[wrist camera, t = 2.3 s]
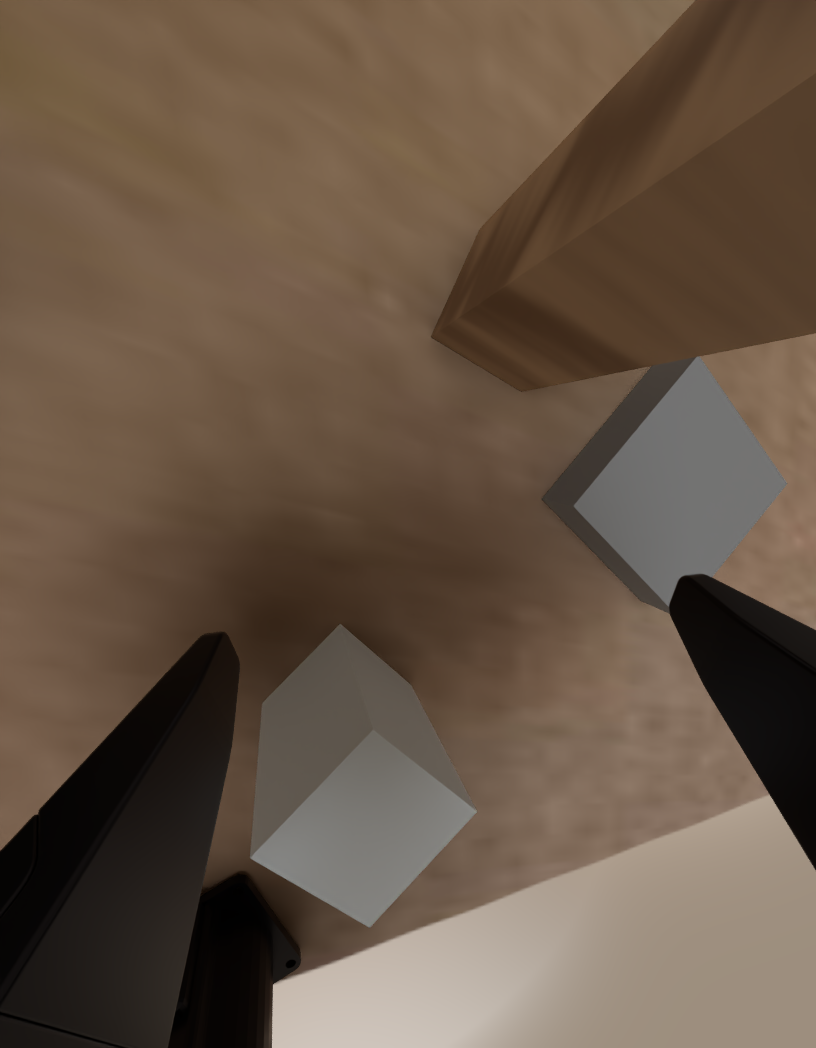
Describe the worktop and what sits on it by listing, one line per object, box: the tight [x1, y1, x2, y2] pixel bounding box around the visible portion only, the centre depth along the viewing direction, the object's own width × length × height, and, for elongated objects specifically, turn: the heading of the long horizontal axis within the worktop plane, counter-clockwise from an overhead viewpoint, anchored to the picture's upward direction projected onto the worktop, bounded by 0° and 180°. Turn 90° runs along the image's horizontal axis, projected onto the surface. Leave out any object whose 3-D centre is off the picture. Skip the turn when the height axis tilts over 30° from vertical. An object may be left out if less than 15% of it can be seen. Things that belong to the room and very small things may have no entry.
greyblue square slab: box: [542, 356, 787, 614], centre depth 23 cm, size 9×9×3 cm
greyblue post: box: [250, 624, 477, 928], centre depth 18 cm, size 5×5×8 cm
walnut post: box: [431, 0, 816, 392], centre depth 13 cm, size 5×5×15 cm
